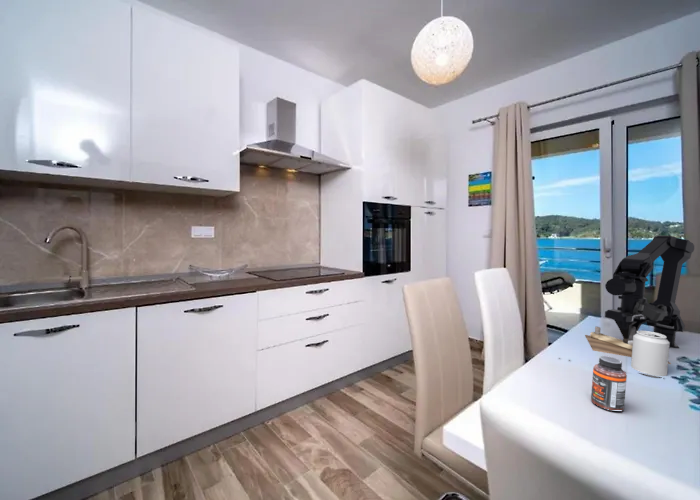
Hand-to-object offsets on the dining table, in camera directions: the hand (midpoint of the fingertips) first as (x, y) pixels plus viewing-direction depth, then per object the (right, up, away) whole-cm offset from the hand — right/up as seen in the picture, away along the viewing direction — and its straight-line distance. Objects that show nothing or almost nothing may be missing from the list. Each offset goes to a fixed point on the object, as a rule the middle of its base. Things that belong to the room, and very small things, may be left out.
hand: (628, 338), depth 105 cm
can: (-10, -6, -17) cm, 21 cm away
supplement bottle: (-37, -6, -34) cm, 51 cm away
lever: (-1, -3, +3) cm, 4 cm away
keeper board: (-2, -4, +1) cm, 5 cm away
